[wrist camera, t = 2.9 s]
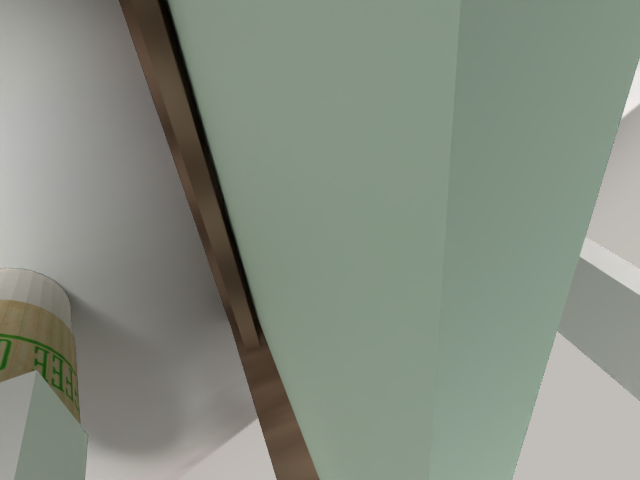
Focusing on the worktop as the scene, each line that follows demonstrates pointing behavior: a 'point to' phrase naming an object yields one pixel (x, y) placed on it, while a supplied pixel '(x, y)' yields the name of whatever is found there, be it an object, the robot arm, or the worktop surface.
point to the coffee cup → (38, 333)
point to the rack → (216, 233)
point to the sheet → (409, 206)
